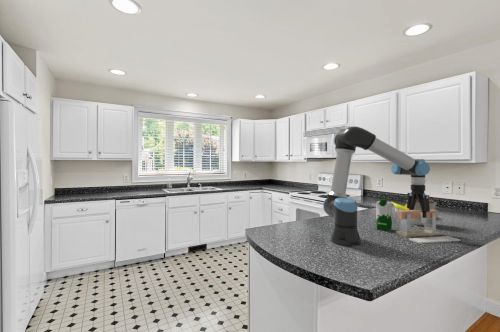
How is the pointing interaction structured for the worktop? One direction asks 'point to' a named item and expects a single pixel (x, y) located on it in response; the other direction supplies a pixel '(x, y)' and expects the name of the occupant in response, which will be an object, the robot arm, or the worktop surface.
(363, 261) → the worktop surface
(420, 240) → the mat
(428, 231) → the hook stand
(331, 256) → the worktop surface
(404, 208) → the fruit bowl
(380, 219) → the milk carton
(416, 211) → the rail
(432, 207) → the canister
